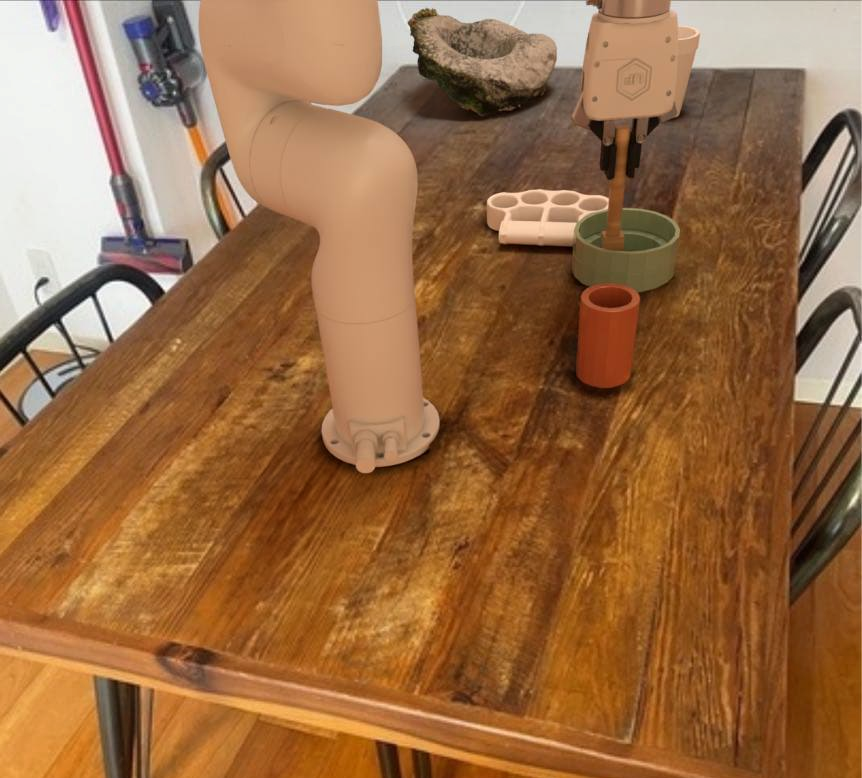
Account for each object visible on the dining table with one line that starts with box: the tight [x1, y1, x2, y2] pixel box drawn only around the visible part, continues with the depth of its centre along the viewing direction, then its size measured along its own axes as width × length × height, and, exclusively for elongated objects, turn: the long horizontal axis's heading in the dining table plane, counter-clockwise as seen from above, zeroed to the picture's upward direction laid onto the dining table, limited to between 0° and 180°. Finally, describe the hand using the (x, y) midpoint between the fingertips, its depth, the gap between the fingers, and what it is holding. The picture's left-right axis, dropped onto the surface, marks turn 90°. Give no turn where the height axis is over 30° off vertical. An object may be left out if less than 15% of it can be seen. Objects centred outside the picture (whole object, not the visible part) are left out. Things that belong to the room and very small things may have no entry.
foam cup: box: [673, 24, 701, 119], centre depth 151 cm, size 10×9×13 cm
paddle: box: [600, 123, 632, 251], centre depth 106 cm, size 2×3×17 cm
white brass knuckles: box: [486, 188, 609, 248], centre depth 123 cm, size 3×18×15 cm
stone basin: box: [407, 6, 558, 117], centre depth 164 cm, size 29×30×15 cm
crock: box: [575, 283, 641, 389], centre depth 93 cm, size 6×6×10 cm
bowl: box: [571, 207, 681, 293], centre depth 111 cm, size 13×13×6 cm
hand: (618, 173), depth 104 cm, fingers closed on paddle, 1 cm apart
